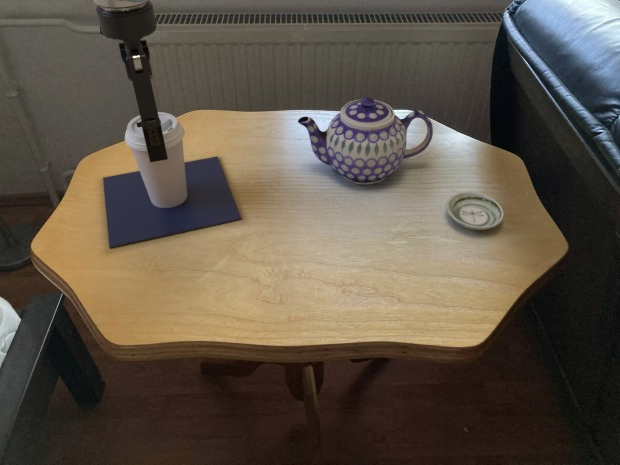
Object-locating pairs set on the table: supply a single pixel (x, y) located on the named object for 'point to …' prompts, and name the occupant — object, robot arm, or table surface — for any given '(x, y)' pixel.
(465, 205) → the saucer
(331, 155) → the teapot
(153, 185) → the coffee cup
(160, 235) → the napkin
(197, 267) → the table surface
